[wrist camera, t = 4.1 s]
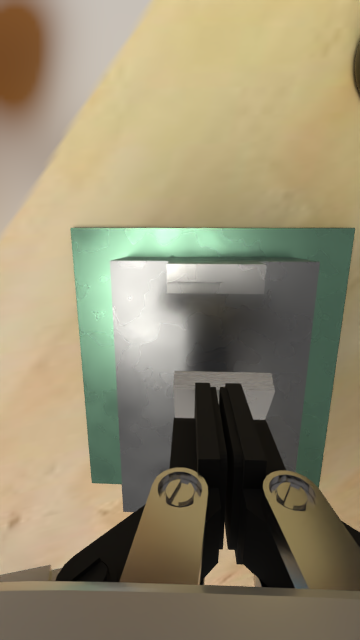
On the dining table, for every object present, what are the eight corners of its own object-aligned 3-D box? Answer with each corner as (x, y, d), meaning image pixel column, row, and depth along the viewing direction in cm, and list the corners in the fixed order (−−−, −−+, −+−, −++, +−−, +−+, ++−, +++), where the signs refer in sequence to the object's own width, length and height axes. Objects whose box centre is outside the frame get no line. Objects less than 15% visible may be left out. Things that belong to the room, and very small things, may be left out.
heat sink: (350, 228, 22) (429, 222, 14) (315, 486, 27) (359, 574, 20) (73, 228, 23) (16, 222, 15) (94, 478, 28) (59, 560, 21)
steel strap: (270, 370, 11) (275, 393, 11) (232, 495, 22) (233, 511, 21) (174, 368, 12) (173, 391, 11) (180, 493, 22) (180, 509, 21)
